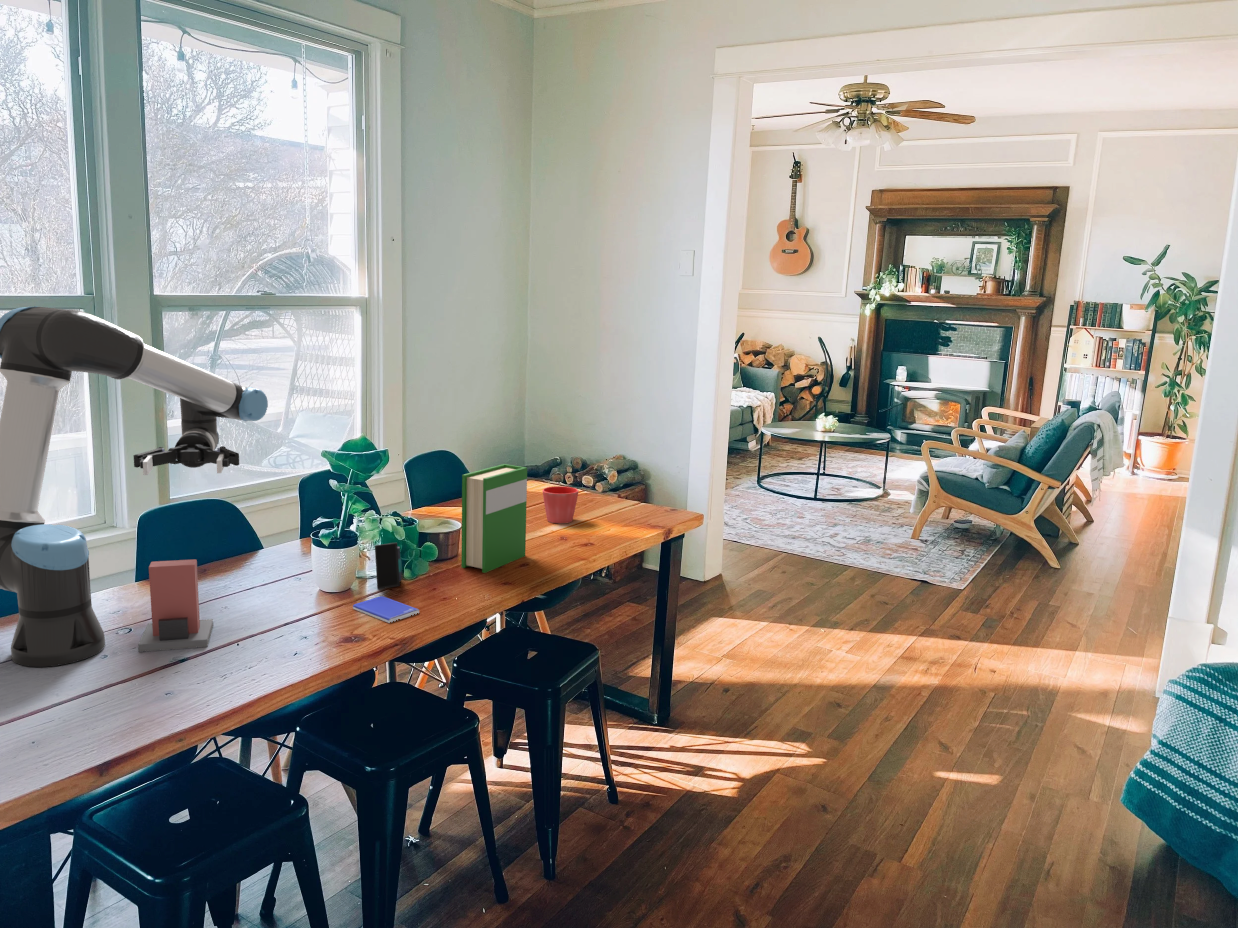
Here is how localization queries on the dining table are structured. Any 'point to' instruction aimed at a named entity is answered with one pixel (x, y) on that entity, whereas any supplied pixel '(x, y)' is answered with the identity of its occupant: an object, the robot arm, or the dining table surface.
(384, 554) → the speaker
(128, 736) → the dining table surface
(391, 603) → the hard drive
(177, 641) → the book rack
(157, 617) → the red rectangular block
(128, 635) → the dining table surface
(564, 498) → the flower pot
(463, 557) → the hardback book
